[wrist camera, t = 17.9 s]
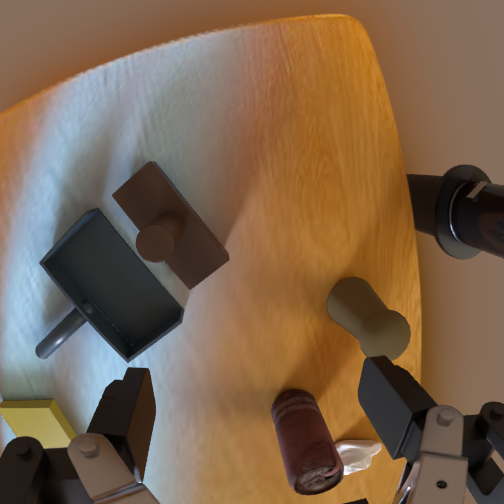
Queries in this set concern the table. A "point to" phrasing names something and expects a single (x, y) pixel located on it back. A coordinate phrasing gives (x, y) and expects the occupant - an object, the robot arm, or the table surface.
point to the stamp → (169, 226)
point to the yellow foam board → (38, 421)
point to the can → (306, 444)
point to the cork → (368, 319)
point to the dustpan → (107, 290)
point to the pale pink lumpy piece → (357, 454)
